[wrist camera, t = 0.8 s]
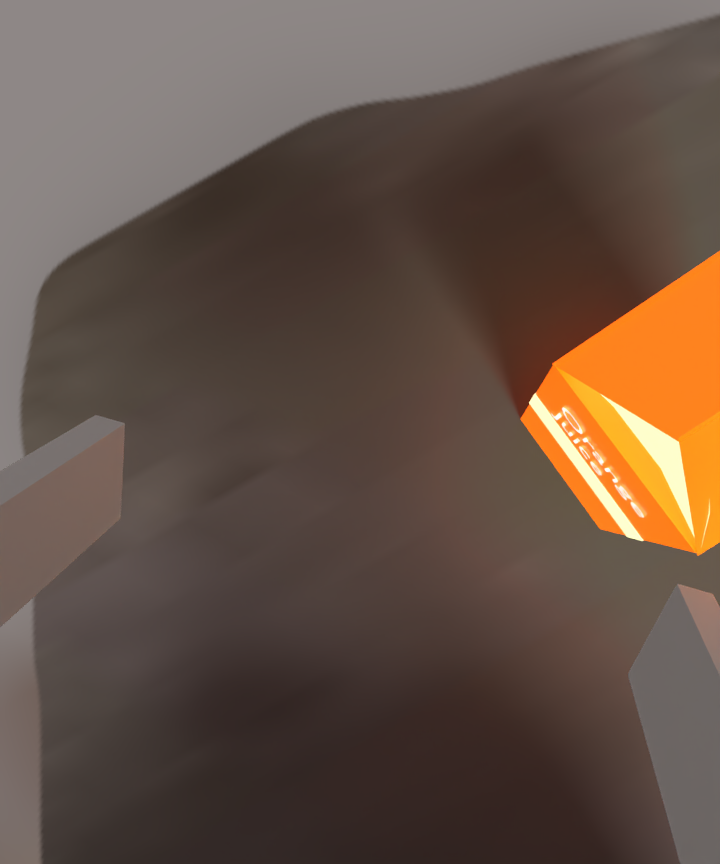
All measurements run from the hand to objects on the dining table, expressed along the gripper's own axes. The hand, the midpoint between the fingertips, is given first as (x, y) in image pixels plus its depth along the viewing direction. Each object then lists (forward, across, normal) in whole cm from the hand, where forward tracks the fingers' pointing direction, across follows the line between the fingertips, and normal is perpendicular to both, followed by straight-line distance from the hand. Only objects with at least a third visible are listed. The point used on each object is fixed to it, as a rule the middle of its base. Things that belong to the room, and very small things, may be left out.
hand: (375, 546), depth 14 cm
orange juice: (+22, -11, +3) cm, 25 cm away
